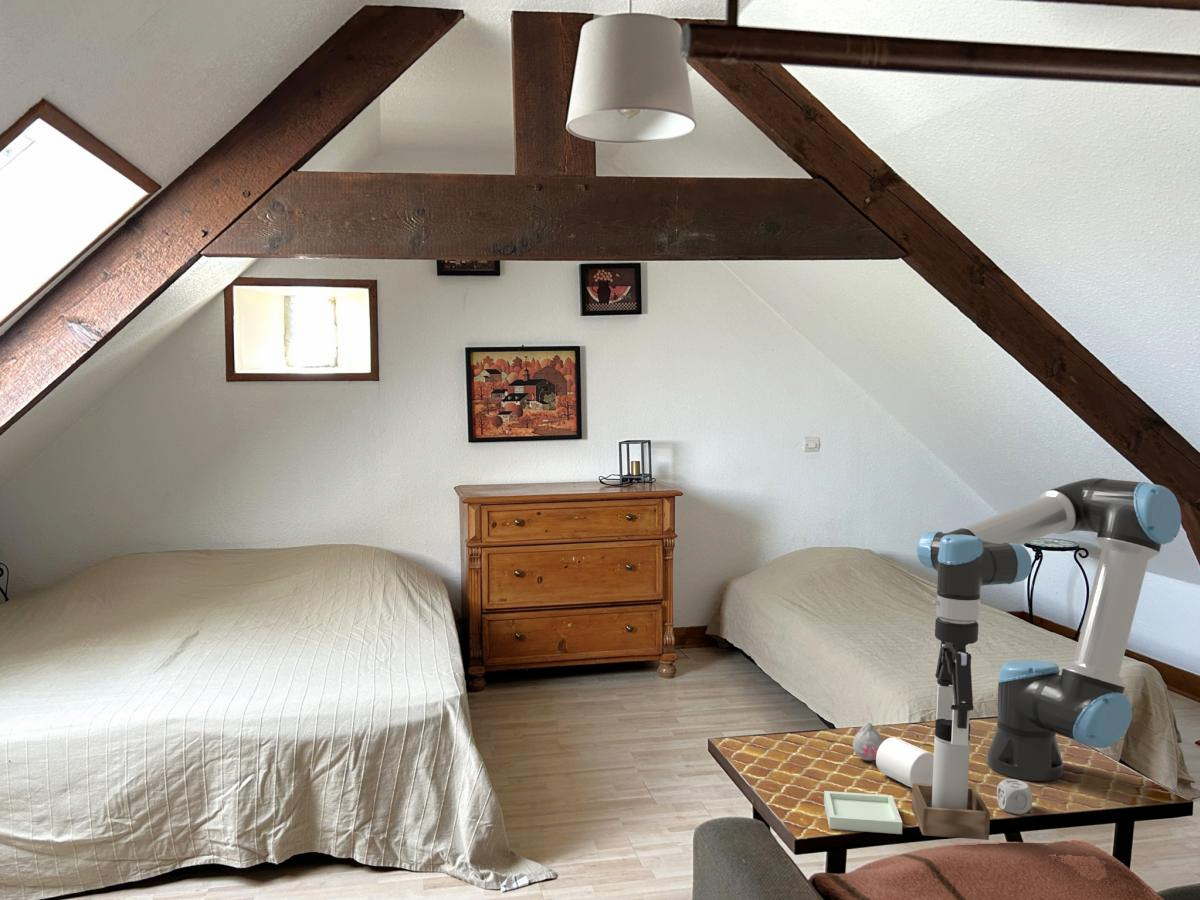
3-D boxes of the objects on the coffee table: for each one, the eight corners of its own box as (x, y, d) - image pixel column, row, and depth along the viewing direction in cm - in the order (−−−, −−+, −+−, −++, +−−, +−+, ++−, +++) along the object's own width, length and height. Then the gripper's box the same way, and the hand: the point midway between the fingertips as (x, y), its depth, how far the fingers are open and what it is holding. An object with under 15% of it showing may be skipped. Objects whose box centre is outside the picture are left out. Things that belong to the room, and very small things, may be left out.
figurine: (853, 764, 216) (855, 728, 215) (850, 752, 222) (852, 717, 222) (885, 767, 215) (886, 730, 214) (881, 755, 221) (882, 719, 221)
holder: (973, 812, 192) (974, 787, 192) (988, 839, 181) (990, 813, 180) (911, 808, 194) (912, 783, 193) (922, 835, 182) (923, 808, 182)
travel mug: (934, 829, 185) (938, 724, 183) (928, 814, 191) (932, 712, 190) (969, 832, 184) (974, 726, 182) (962, 817, 190) (967, 714, 189)
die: (1021, 803, 197) (1022, 779, 196) (1031, 815, 192) (1033, 789, 191) (995, 803, 197) (997, 778, 197) (1005, 814, 192) (1006, 789, 192)
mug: (909, 795, 200) (911, 756, 200) (874, 777, 209) (876, 739, 209) (953, 784, 206) (954, 746, 205) (917, 767, 215) (918, 731, 214)
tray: (891, 806, 195) (892, 795, 194) (901, 834, 183) (902, 822, 183) (823, 801, 196) (824, 790, 196) (829, 828, 184) (829, 817, 184)
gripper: (923, 603, 197) (918, 708, 199) (950, 634, 173) (944, 754, 174) (962, 605, 196) (957, 711, 198) (995, 636, 172) (989, 757, 173)
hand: (951, 731), depth 186 cm, fingers open, 13 cm apart
